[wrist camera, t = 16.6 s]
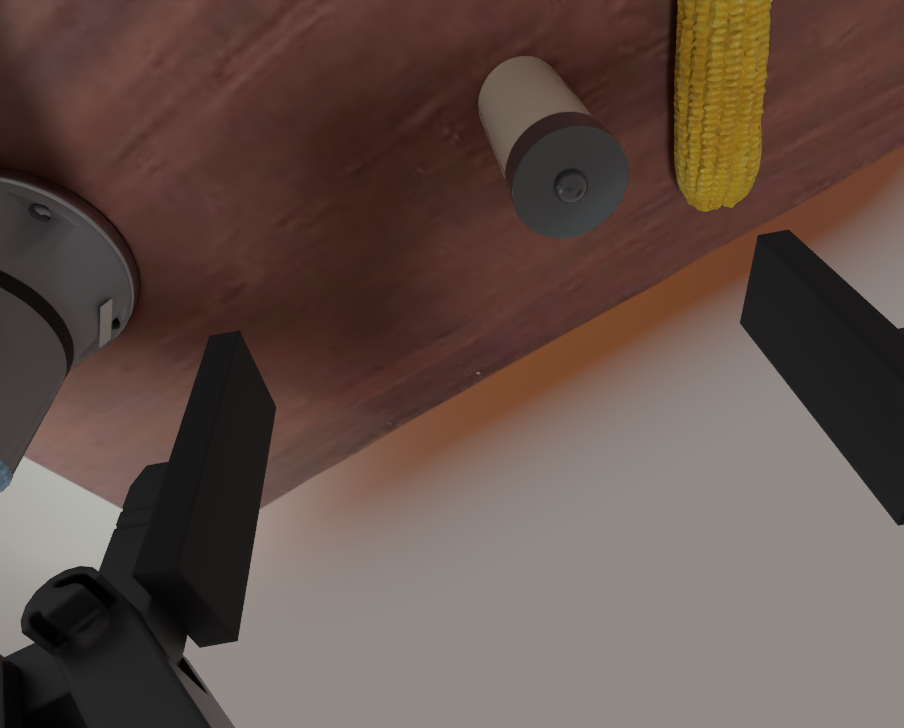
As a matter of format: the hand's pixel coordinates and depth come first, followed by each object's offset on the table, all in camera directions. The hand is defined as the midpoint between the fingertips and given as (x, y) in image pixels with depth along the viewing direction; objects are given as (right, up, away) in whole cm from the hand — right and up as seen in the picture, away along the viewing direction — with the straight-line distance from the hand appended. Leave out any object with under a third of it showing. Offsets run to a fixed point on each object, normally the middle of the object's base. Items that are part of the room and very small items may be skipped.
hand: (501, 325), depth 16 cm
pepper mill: (+3, +17, +26) cm, 32 cm away
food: (+16, +21, +25) cm, 36 cm away
